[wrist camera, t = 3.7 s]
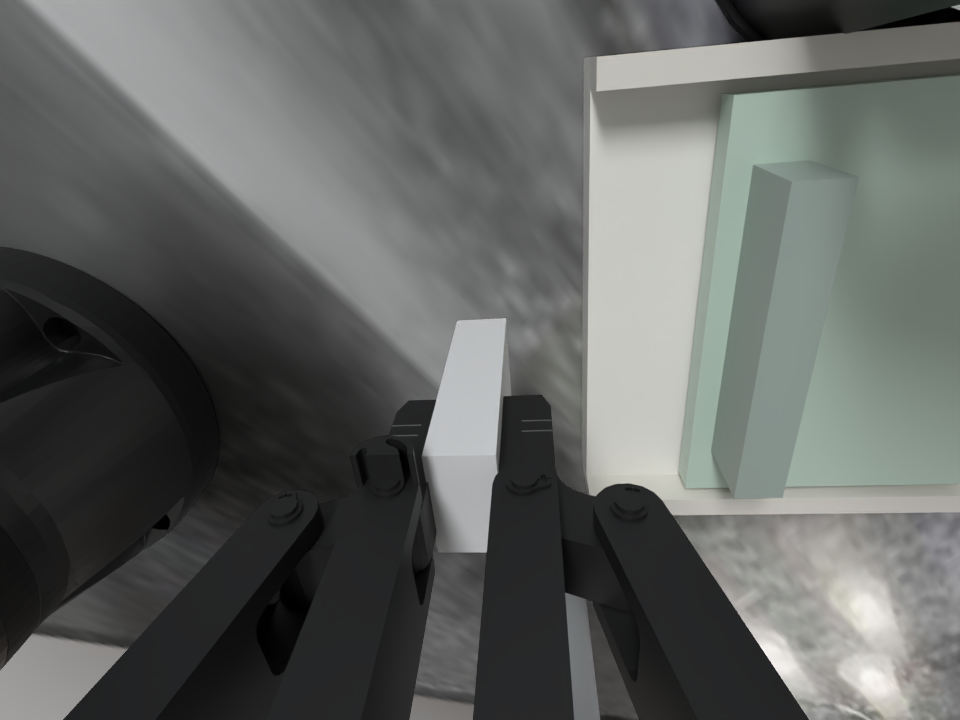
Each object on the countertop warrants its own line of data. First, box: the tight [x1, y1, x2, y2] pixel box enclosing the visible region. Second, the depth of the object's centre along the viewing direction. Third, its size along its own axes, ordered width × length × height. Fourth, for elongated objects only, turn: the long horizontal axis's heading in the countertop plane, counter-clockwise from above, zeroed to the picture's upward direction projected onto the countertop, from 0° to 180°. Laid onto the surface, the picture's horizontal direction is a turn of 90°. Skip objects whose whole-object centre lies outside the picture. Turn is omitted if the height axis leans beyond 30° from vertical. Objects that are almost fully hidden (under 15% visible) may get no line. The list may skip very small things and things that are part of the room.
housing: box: [582, 22, 960, 515], centre depth 18 cm, size 24×16×4 cm, turn 95°
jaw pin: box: [565, 593, 600, 720], centre depth 21 cm, size 4×4×12 cm
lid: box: [679, 73, 960, 498], centre depth 16 cm, size 10×14×4 cm
